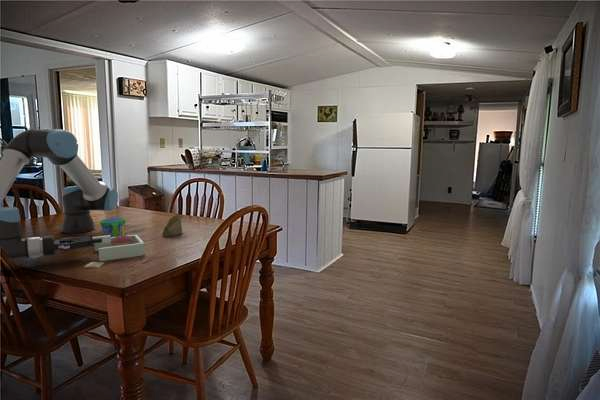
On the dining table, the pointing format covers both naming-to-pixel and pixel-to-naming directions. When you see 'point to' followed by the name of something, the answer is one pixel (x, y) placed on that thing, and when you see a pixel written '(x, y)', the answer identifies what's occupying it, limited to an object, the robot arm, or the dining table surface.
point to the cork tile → (94, 265)
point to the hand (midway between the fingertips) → (110, 238)
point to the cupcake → (121, 239)
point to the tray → (120, 249)
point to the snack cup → (112, 226)
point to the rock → (173, 226)
